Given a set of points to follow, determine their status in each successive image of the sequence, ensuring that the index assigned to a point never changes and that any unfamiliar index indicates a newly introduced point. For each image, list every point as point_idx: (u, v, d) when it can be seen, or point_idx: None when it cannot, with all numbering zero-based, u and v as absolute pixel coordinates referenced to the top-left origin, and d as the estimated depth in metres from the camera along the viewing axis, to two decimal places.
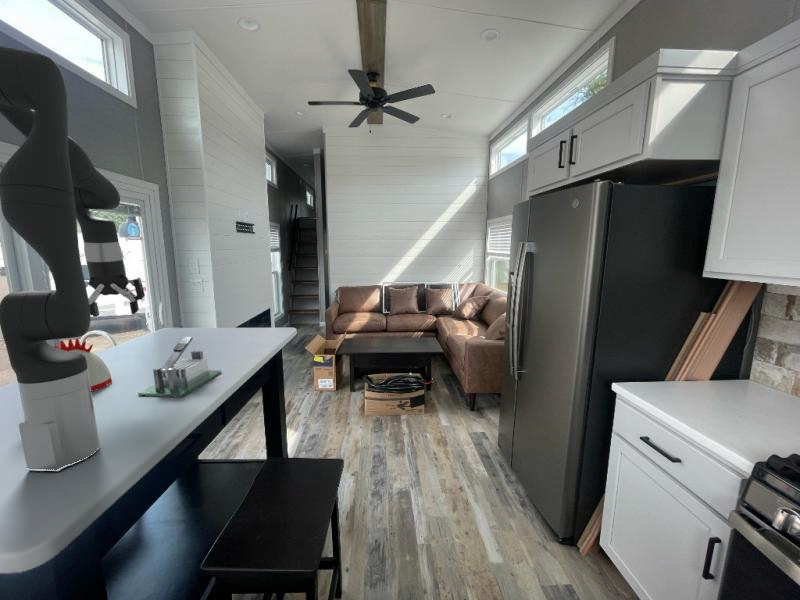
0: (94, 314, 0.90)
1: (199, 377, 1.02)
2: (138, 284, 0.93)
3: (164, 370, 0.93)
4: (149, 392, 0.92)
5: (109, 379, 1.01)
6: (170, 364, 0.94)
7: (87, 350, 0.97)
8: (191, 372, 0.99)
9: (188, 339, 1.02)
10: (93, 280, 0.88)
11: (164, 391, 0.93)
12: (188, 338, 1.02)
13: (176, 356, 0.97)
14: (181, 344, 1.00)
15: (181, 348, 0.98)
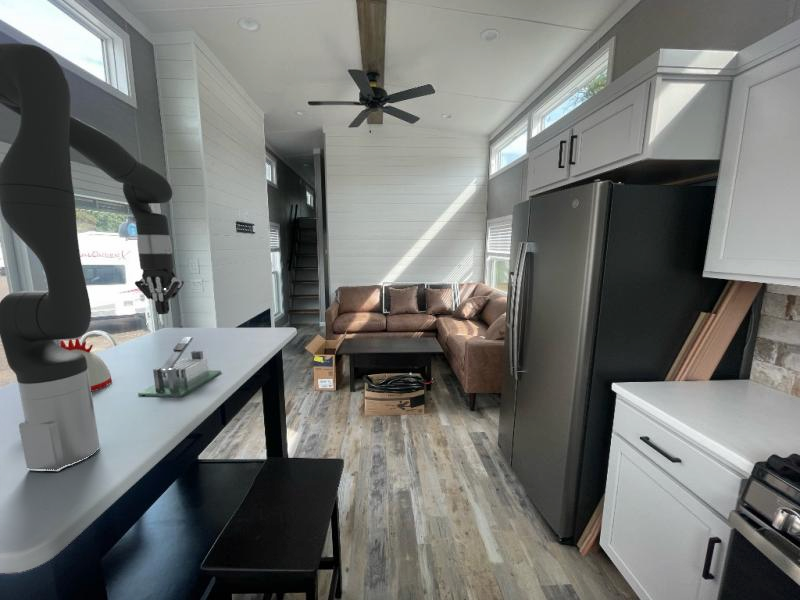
0: (158, 311, 0.91)
1: (199, 377, 1.02)
2: (174, 287, 0.90)
3: (164, 370, 0.93)
4: (149, 392, 0.92)
5: (109, 379, 1.01)
6: (170, 364, 0.94)
7: (87, 350, 0.97)
8: (191, 372, 0.99)
9: (188, 339, 1.02)
10: (143, 273, 0.90)
11: (164, 391, 0.93)
12: (188, 338, 1.02)
13: (176, 356, 0.97)
14: (181, 344, 1.00)
15: (181, 348, 0.98)
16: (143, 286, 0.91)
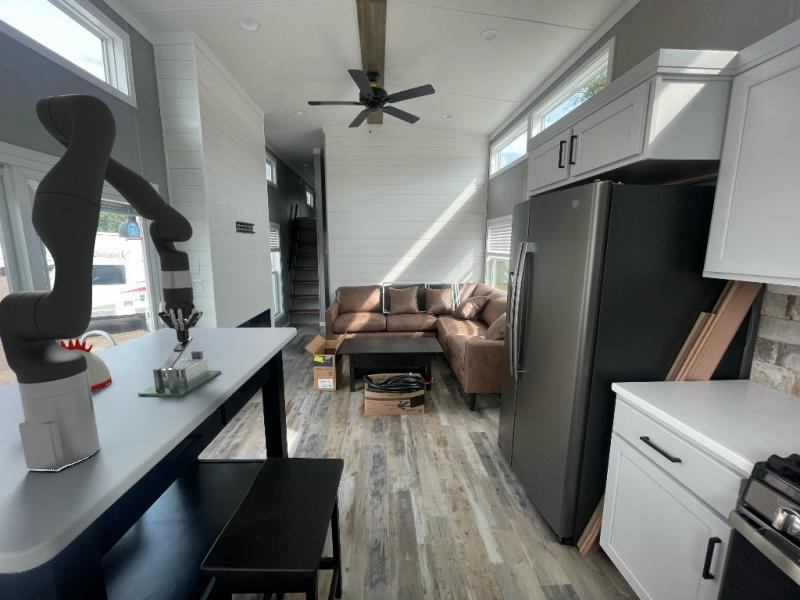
0: (179, 340, 0.99)
1: (199, 377, 1.02)
2: (194, 318, 0.98)
3: (164, 370, 0.93)
4: (149, 392, 0.92)
5: (109, 379, 1.01)
6: (170, 364, 0.94)
7: (87, 350, 0.97)
8: (191, 372, 0.99)
9: (188, 339, 1.02)
10: (165, 305, 0.98)
11: (164, 391, 0.93)
12: None
13: (176, 356, 0.97)
14: (181, 344, 1.00)
15: (181, 348, 0.98)
16: (166, 317, 0.99)
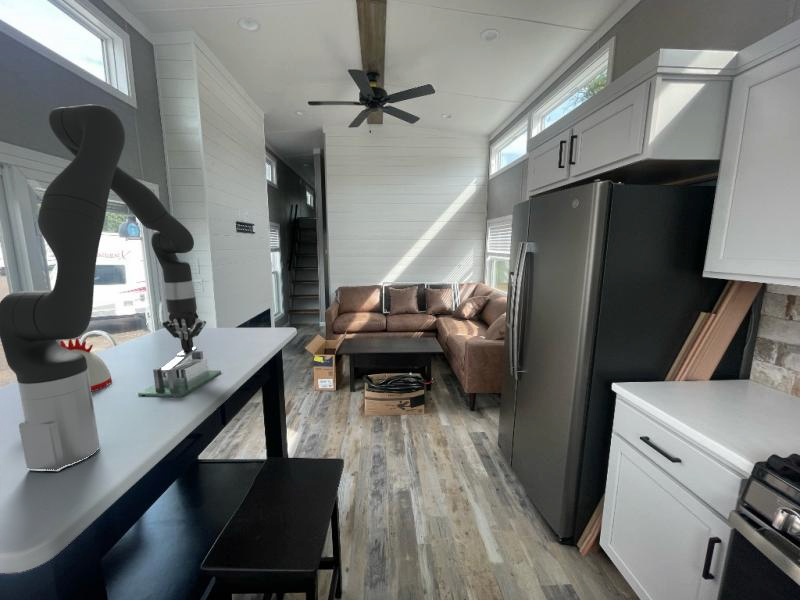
0: (184, 349, 1.01)
1: (199, 377, 1.02)
2: (198, 327, 1.00)
3: (164, 370, 0.93)
4: (149, 392, 0.92)
5: (109, 379, 1.01)
6: (171, 365, 0.95)
7: (87, 350, 0.97)
8: (191, 372, 0.99)
9: (193, 348, 1.04)
10: (169, 315, 0.99)
11: (164, 391, 0.93)
12: (193, 348, 1.04)
13: (178, 360, 0.98)
14: (185, 351, 1.01)
15: (185, 354, 1.00)
16: (170, 326, 1.00)
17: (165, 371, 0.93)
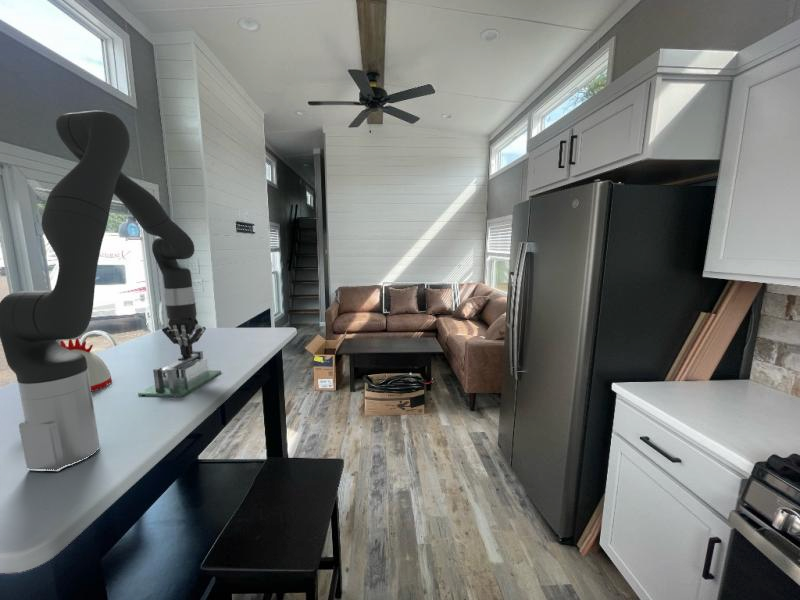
0: (183, 355, 1.01)
1: (199, 377, 1.02)
2: (198, 333, 0.99)
3: (164, 369, 0.93)
4: (149, 392, 0.92)
5: (109, 379, 1.01)
6: (172, 366, 0.95)
7: (87, 350, 0.97)
8: (191, 372, 0.99)
9: (194, 354, 1.04)
10: (169, 321, 0.99)
11: (164, 391, 0.93)
12: (194, 354, 1.05)
13: (179, 363, 0.98)
14: None
15: (186, 358, 1.00)
16: (169, 332, 1.00)
17: (165, 371, 0.93)
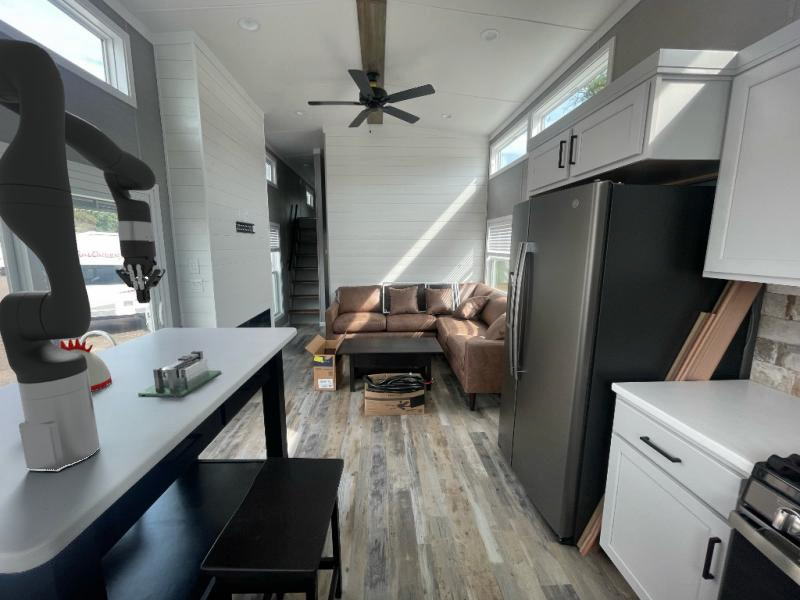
0: (139, 300, 0.89)
1: (199, 377, 1.02)
2: (155, 275, 0.88)
3: (164, 369, 0.93)
4: (149, 392, 0.92)
5: (109, 379, 1.01)
6: (172, 366, 0.95)
7: (87, 350, 0.97)
8: (191, 372, 0.99)
9: (194, 354, 1.04)
10: (124, 261, 0.88)
11: (164, 391, 0.93)
12: (194, 354, 1.05)
13: (179, 363, 0.98)
14: (187, 356, 1.02)
15: (186, 358, 1.00)
16: (124, 274, 0.89)
17: (165, 371, 0.93)
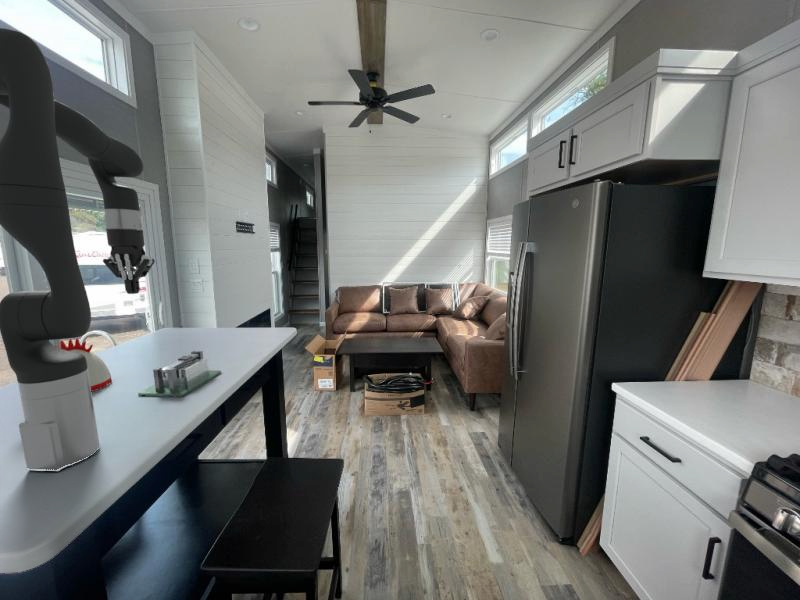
0: (128, 291, 0.87)
1: (199, 377, 1.02)
2: (144, 264, 0.86)
3: (164, 369, 0.93)
4: (149, 392, 0.92)
5: (109, 379, 1.01)
6: (172, 366, 0.95)
7: (87, 350, 0.97)
8: (191, 372, 0.99)
9: (194, 354, 1.04)
10: (111, 251, 0.86)
11: (164, 391, 0.93)
12: (194, 354, 1.05)
13: (179, 363, 0.98)
14: (187, 356, 1.02)
15: (186, 358, 1.00)
16: (112, 264, 0.87)
17: (165, 371, 0.93)
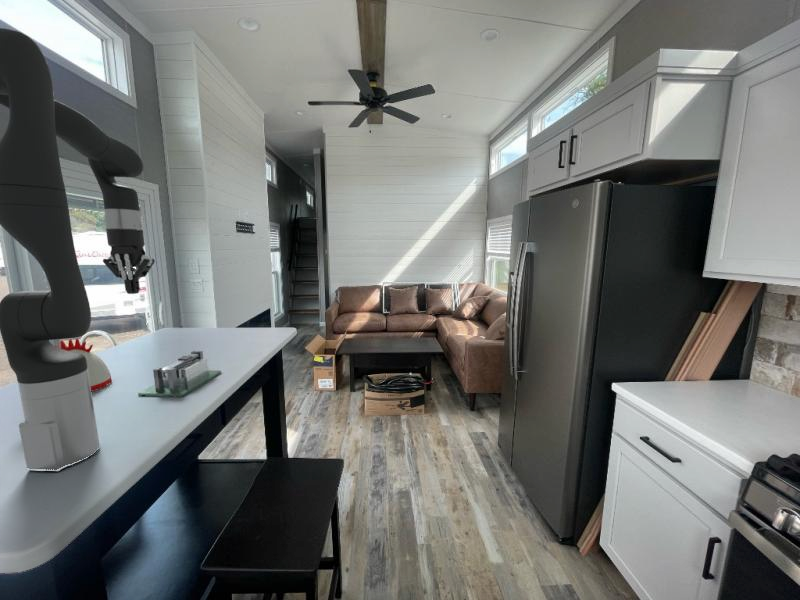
0: (128, 291, 0.87)
1: (199, 377, 1.02)
2: (144, 264, 0.86)
3: (164, 369, 0.93)
4: (149, 392, 0.92)
5: (109, 379, 1.01)
6: (172, 366, 0.95)
7: (87, 350, 0.97)
8: (191, 372, 0.99)
9: (194, 354, 1.04)
10: (111, 251, 0.86)
11: (164, 391, 0.93)
12: (194, 354, 1.05)
13: (179, 363, 0.98)
14: (187, 356, 1.02)
15: (186, 358, 1.00)
16: (112, 264, 0.87)
17: (165, 371, 0.93)
